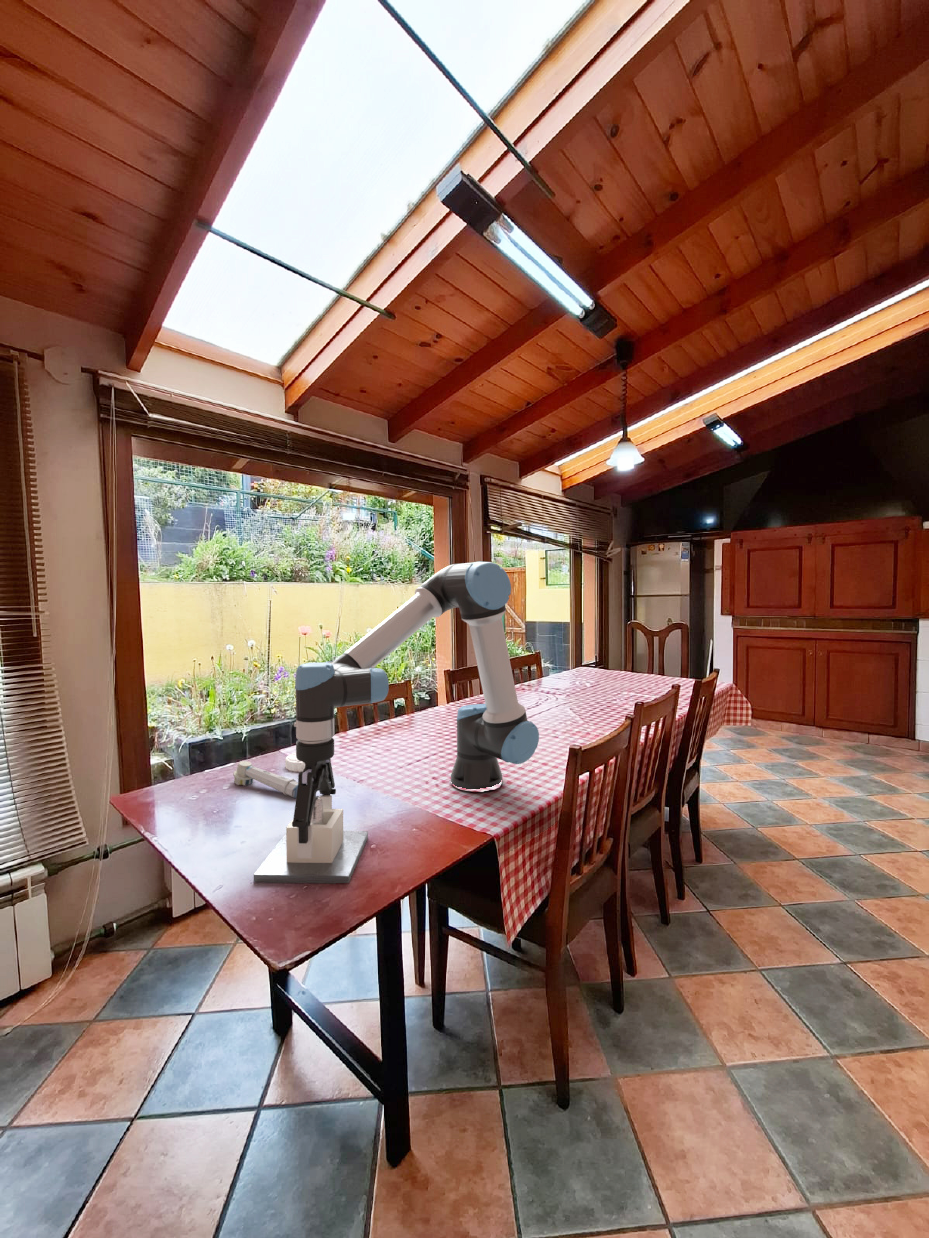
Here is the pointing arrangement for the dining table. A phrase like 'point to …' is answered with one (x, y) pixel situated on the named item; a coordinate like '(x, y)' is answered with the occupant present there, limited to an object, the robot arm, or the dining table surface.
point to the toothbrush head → (264, 779)
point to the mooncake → (294, 763)
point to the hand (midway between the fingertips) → (315, 840)
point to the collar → (319, 839)
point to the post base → (293, 872)
